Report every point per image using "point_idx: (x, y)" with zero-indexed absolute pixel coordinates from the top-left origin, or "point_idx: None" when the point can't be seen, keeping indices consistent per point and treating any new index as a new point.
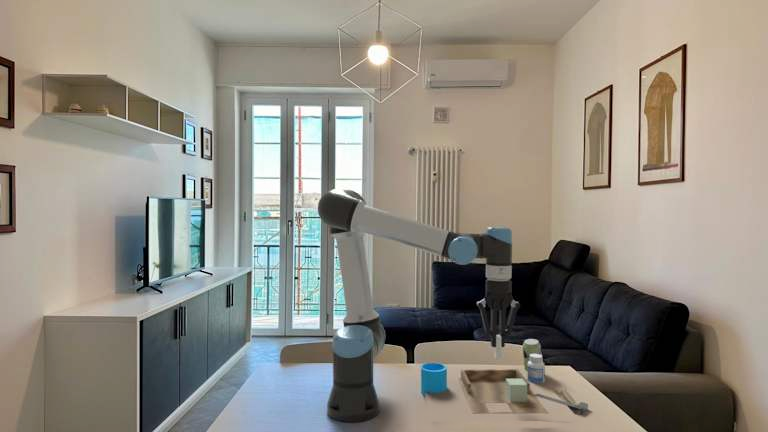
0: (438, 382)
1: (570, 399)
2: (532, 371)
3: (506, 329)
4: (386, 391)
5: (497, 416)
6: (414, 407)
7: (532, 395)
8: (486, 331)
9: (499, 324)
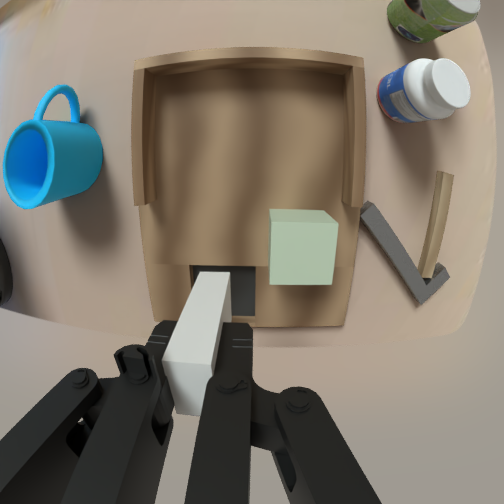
0: (58, 198)
1: (434, 244)
2: (407, 107)
3: (282, 432)
4: None
5: None
6: (47, 251)
7: (353, 216)
8: (89, 429)
9: (193, 467)
